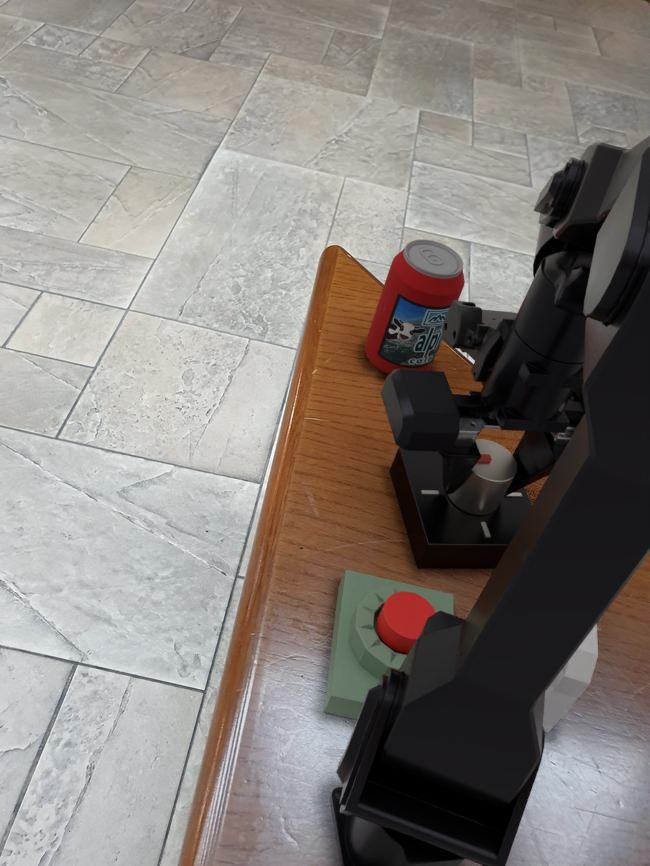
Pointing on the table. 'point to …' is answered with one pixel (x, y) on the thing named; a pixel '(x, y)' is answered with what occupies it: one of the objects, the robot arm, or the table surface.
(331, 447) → the table surface
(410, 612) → the light button
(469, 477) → the dimmer knob
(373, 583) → the switch block
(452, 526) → the dimmer panel
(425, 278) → the beverage can
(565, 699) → the light switch
